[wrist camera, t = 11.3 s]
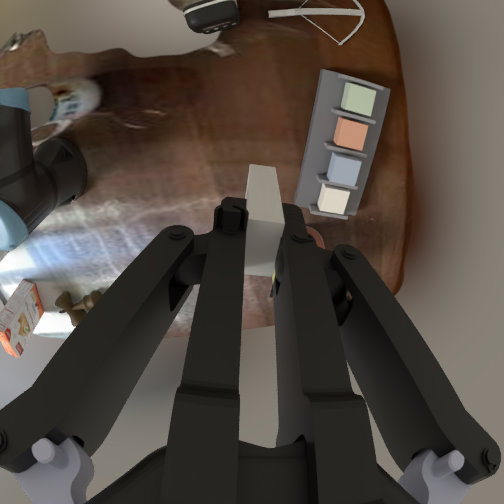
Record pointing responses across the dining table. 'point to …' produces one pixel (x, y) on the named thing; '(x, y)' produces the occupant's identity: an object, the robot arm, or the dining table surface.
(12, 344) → the cracker box
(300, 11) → the crossbow
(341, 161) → the key slate
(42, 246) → the dining table surface
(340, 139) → the key terracotta
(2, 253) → the supplement box
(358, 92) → the key sage
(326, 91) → the keypad
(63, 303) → the kendama
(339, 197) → the key ivory
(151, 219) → the dining table surface
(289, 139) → the dining table surface
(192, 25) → the battery charger
